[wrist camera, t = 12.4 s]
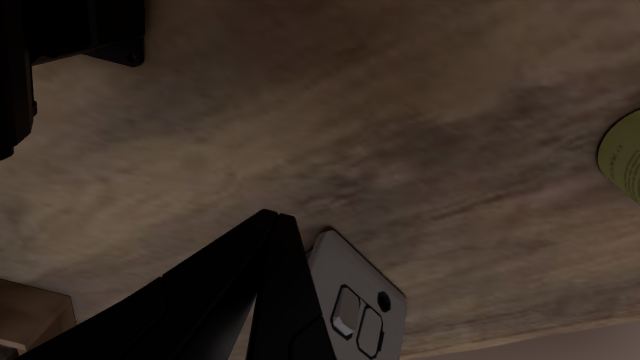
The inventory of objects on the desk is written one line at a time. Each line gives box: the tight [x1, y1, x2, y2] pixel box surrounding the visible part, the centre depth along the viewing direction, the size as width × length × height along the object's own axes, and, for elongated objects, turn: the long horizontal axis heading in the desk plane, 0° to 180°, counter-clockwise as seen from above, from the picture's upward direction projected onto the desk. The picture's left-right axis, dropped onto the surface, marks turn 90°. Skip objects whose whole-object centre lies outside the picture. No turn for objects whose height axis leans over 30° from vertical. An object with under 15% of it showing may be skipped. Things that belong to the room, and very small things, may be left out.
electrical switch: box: [305, 230, 407, 360], centre depth 24 cm, size 9×5×9 cm, turn 43°
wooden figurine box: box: [0, 279, 76, 356], centre depth 34 cm, size 9×15×5 cm, turn 167°
